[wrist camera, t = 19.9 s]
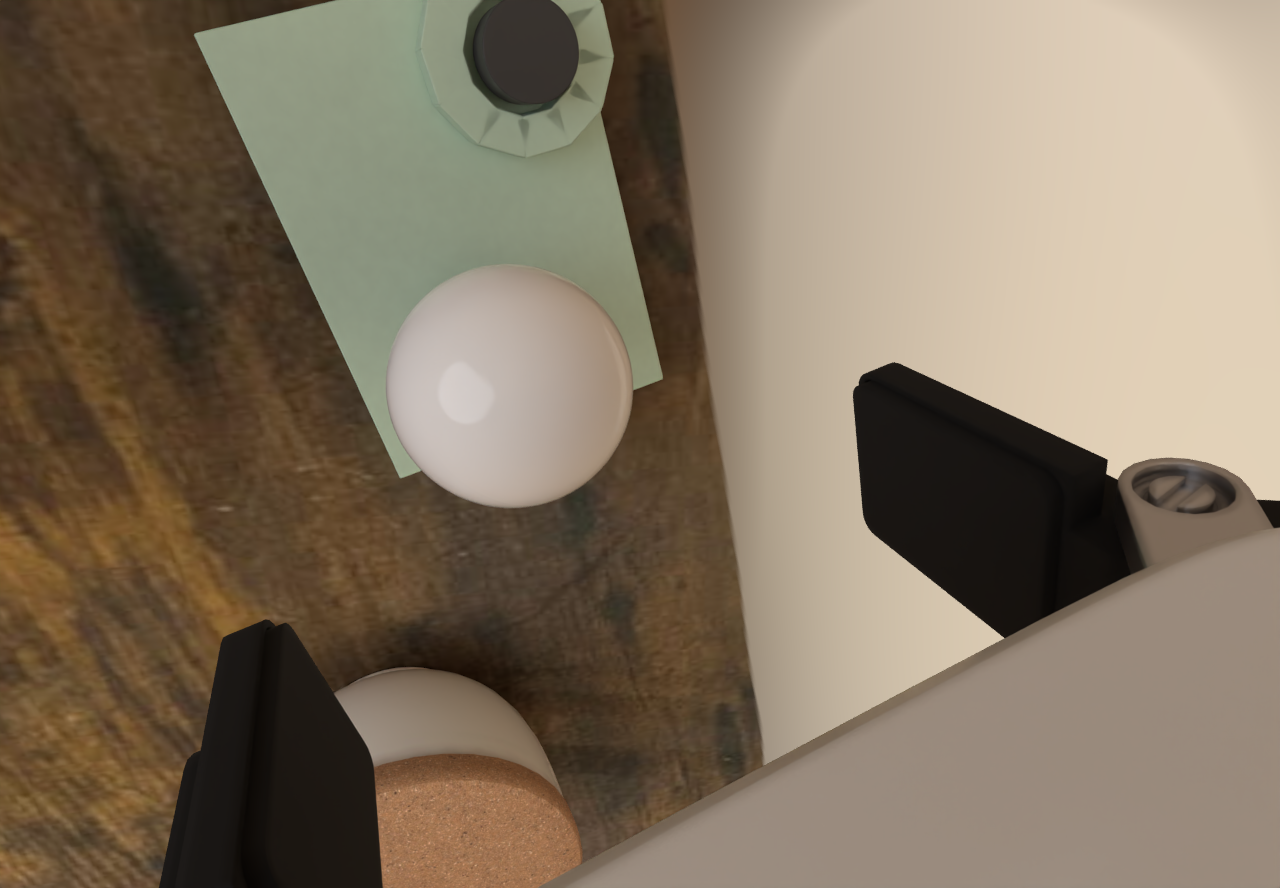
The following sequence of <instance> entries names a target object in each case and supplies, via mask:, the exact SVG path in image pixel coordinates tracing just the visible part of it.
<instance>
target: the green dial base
mask: <svg viewBox="0 0 1280 888" xmlns="http://www.w3.org/2000/svg"><path fill="white" fill-rule="evenodd" d="M501 1H502V0H335V1H331V2H327V3H322V4H318V5H314V6H310V7H305V8H301V9H297V10H292V11H288V12H284V13H280V14H275V15H271V16H267V17H262V18H258V19H254V20H249V21H245V22H241V23H237V24H232V25H228V26H224V27H219V28H215V29H211V30H207V31H202V32H198V33H195V34H194V36H195V38H196V40H197V42H198V45H199V47H200V49H201V51H202V53H203V55H204V57H205V60H206V62H207V64H208V66H209V68H210V70H211V72H212V75H213V77H214V79H215V81H216V83H217V85H218V88H219V90H220V92H221V94H222V96H223V98H224V100H225V103H226V105H227V107H228V109H229V111H230V113H231V116H232V118H233V120H234V122H235V124H236V126H237V128H238V131H239V133H240V135H241V137H242V139H243V141H244V143H245V146H246V148H247V150H248V152H249V154H250V156H251V159H252V161H253V163H254V165H255V167H256V169H257V171H258V174H259V176H260V178H261V180H262V182H263V184H264V186H265V189H266V191H267V193H268V195H269V197H270V199H271V202H272V204H273V206H274V208H275V210H276V212H277V214H278V217H279V219H280V221H281V223H282V225H283V227H284V229H285V232H286V234H287V236H288V238H289V240H290V242H291V245H292V247H293V249H294V251H295V253H296V255H297V257H298V260H299V262H300V264H301V266H302V268H303V270H304V272H305V275H306V277H307V279H308V281H309V283H310V285H311V288H312V290H313V292H314V294H315V296H316V298H317V300H318V303H319V305H320V307H321V309H322V311H323V313H324V315H325V318H326V320H327V322H328V324H329V326H330V328H331V331H332V333H333V335H334V337H335V339H336V341H337V343H338V346H339V348H340V350H341V352H342V354H343V356H344V359H345V361H346V363H347V365H348V367H349V369H350V371H351V374H352V376H353V378H354V380H355V382H356V384H357V386H358V389H359V391H360V393H361V395H362V397H363V399H364V402H365V404H366V406H367V408H368V410H369V412H370V414H371V417H372V419H373V421H374V423H375V425H376V427H377V429H378V432H379V434H380V436H381V438H382V440H383V442H384V445H385V447H386V449H387V451H388V453H389V455H390V457H391V460H392V462H393V464H394V466H395V468H396V470H397V472H398V475H399V477H400V478H403V477H406V476H408V475H411V474H414V473H416V472H419V471H422V470H421V469H420V468H419V467H418V466H417V465H416V464H415V463H414V462H413V460H412V459H411V458H410V456H409V455H408V454H407V452H406V451H405V449H404V448H403V446H402V444H401V442H400V441H399V439H398V437H397V434H396V432H395V430H394V427H393V425H392V422H391V418H390V415H389V410H388V406H387V399H386V370H387V363H388V358H389V354H390V350H391V347H392V344H393V341H394V339H395V337H396V334H397V332H398V330H399V328H400V326H401V325H402V323H403V321H404V320H405V318H406V317H407V315H408V314H409V312H410V311H411V310H412V308H413V307H414V306H415V305H416V304H417V303H418V302H419V301H420V300H421V299H422V298H423V297H424V296H425V295H426V294H427V293H428V292H429V291H431V290H432V289H433V288H435V287H436V286H437V285H439V284H440V283H442V282H443V281H445V280H447V279H449V278H451V277H453V276H455V275H457V274H459V273H461V272H464V271H467V270H470V269H473V268H477V267H481V266H486V265H493V264H523V265H529V266H534V267H538V268H542V269H546V270H549V271H551V272H554V273H556V274H559V275H561V276H563V277H565V278H567V279H569V280H571V281H572V282H574V283H575V284H577V285H579V286H580V287H581V288H583V289H584V290H585V291H587V292H588V293H589V294H590V295H591V296H593V297H594V298H595V299H596V300H597V301H598V302H599V303H600V304H601V306H602V307H603V308H604V309H605V310H606V312H607V313H608V314H609V316H610V317H611V318H612V320H613V321H614V323H615V325H616V326H617V328H618V330H619V332H620V334H621V336H622V338H623V340H624V343H625V345H626V348H627V351H628V354H629V358H630V362H631V367H632V374H633V390H635V389H638V388H641V387H643V386H646V385H648V384H651V383H654V382H656V381H659V380H662V379H663V375H662V371H661V367H660V363H659V358H658V354H657V350H656V346H655V341H654V337H653V333H652V329H651V324H650V320H649V316H648V312H647V307H646V303H645V299H644V295H643V290H642V286H641V282H640V278H639V273H638V269H637V265H636V261H635V256H634V252H633V248H632V244H631V239H630V235H629V231H628V227H627V222H626V218H625V214H624V210H623V205H622V201H621V197H620V193H619V188H618V184H617V180H616V176H615V171H614V167H613V163H612V159H611V154H610V150H609V146H608V142H607V137H606V133H605V129H604V125H603V120H602V116H601V110H602V109H601V108H602V107H603V104H604V100H605V95H606V91H607V87H608V82H609V78H610V74H611V69H612V65H613V58H614V54H613V49H612V45H611V40H610V36H609V31H608V27H607V22H606V18H605V13H604V8H603V4H602V3H601V0H551V1H553V2H555V3H556V4H557V5H558V6H559V7H560V8H561V9H562V10H563V11H564V12H565V13H566V15H567V16H568V18H569V19H570V21H571V23H572V25H573V27H574V30H575V32H576V36H577V39H578V45H579V61H578V67H577V71H576V74H575V76H574V79H573V81H572V82H571V84H570V86H569V87H568V88H567V90H566V91H565V92H564V93H563V94H562V95H560V96H559V97H558V98H556V99H554V100H552V101H550V102H547V103H543V104H533V105H518V104H513V103H509V102H507V101H504V100H502V99H501V98H499V97H497V96H496V95H495V94H493V93H492V92H491V91H490V90H489V89H488V88H487V86H486V85H485V84H484V82H483V81H482V79H481V78H480V76H479V74H478V71H477V69H476V66H475V62H474V57H473V38H474V34H475V30H476V28H477V25H478V23H479V21H480V19H481V18H482V17H483V15H484V14H485V13H486V12H487V11H488V10H489V9H491V8H492V7H493V6H495V5H496V4H498V3H499V2H501Z"/></svg>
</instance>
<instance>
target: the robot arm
mask: <svg viewBox="0 0 1280 888" xmlns="http://www.w3.org/2000/svg"><path fill="white" fill-rule="evenodd" d="M853 402H854V414H855V425H856V436H857V449H858V461H859V472H860V483H861V496H862V508H863V516H864V520H865V522H866V524H867V526H868V528H869V529H870V531H871V532H872V533H873V534H874V535H875V536H877V537H878V538H879V539H880V540H882V541H883V542H884V543H885V544H887V545H888V546H889V547H890V548H892V549H893V550H894V551H895V552H897V553H898V554H899V555H900V556H902V557H903V558H904V559H906V560H907V561H908V562H909V563H911V564H912V565H913V566H914V567H916V568H917V569H918V570H919V571H921V572H922V573H923V574H924V575H926V576H927V577H928V578H930V579H931V580H932V581H933V582H934V583H936V584H937V585H938V586H940V587H941V588H942V589H943V590H945V591H946V592H947V593H948V594H950V595H951V596H952V597H953V598H955V599H956V600H957V601H958V602H960V603H961V604H962V605H963V606H965V607H966V608H967V609H969V610H970V611H971V612H972V613H974V614H975V615H976V616H977V617H979V618H980V619H981V620H983V621H984V622H985V623H986V624H988V625H989V626H990V627H991V628H993V629H994V630H995V631H996V632H998V633H999V634H1000V635H1001V636H1003V637H1004V638H1005V639H1003V640H1001V641H999V642H997V643H995V644H993V645H991V646H989V647H987V648H986V649H984V650H982V651H980V652H978V653H976V654H974V655H972V656H971V657H968V658H967V659H965V660H963V661H961V662H959V663H957V664H955V665H953V666H951V667H949V668H947V669H946V670H944V671H942V672H940V673H938V674H936V675H934V676H932V677H930V678H928V679H927V680H925V681H923V682H921V683H919V684H917V685H915V686H913V687H911V688H909V689H907V690H906V691H904V692H902V693H900V694H898V695H896V696H894V697H892V698H890V699H889V700H887V701H885V702H883V703H881V704H879V705H877V706H875V707H873V708H872V709H870V710H868V711H866V712H864V713H862V714H860V715H858V716H857V717H855V718H853V719H851V720H849V721H847V722H845V723H843V724H841V725H840V726H838V727H836V728H834V729H832V730H830V731H828V732H826V733H824V734H823V735H821V736H819V737H817V738H815V739H813V740H811V741H810V742H808V743H806V744H804V745H802V746H800V747H798V748H796V749H794V750H793V751H791V752H789V753H787V754H785V755H783V756H781V757H779V758H778V759H776V760H774V761H772V762H770V763H768V764H766V765H764V766H763V767H761V768H759V769H757V770H755V771H753V772H751V773H749V774H748V775H746V776H744V777H742V778H740V779H738V780H736V781H734V782H733V783H731V784H729V785H727V786H725V787H723V788H721V789H719V790H718V791H716V792H714V793H712V794H710V795H708V796H706V797H705V798H703V799H701V800H699V801H697V802H695V803H693V804H692V805H690V806H688V807H686V808H684V809H682V810H680V811H679V812H677V813H675V814H673V815H671V816H669V817H667V818H666V819H664V820H662V821H660V822H658V823H656V824H654V825H653V826H651V827H649V828H647V829H645V830H643V831H641V832H640V833H638V834H636V835H634V836H632V837H630V838H629V839H627V840H625V841H623V842H621V843H619V844H617V845H616V846H614V847H612V848H610V849H608V850H606V851H604V852H603V853H601V854H599V855H597V856H595V857H593V858H591V859H590V860H588V861H586V862H584V863H582V864H580V865H578V866H577V867H575V868H573V869H571V870H569V871H567V872H565V873H564V874H562V875H560V876H558V877H556V878H554V879H552V880H551V881H549V882H547V883H545V884H543V885H541V886H540V887H538V888H1280V501H1273V500H1272V501H1271V500H1256V498H1255V496H1254V495H1253V493H1252V491H1251V490H1250V488H1249V487H1248V486H1247V485H1246V484H1245V483H1244V482H1243V480H1242V479H1241V478H1239V477H1238V476H1236V475H1234V474H1233V473H1231V472H1229V471H1228V470H1226V469H1223V468H1221V467H1217V466H1215V465H1212V464H1209V463H1206V462H1200V461H1196V460H1190V459H1181V458H1159V459H1150V460H1145V461H1142V462H1139V463H1135V464H1133V465H1131V466H1130V467H1128V468H1127V469H1125V470H1123V472H1122V473H1121V475H1120V477H1119V478H1118V480H1117V479H1115V478H1113V477H1111V476H1109V475H1107V474H1106V471H1107V461H1108V460H1107V459H1105V458H1103V457H1101V456H1099V455H1096V454H1094V453H1092V452H1090V451H1088V450H1085V449H1083V448H1081V447H1079V446H1077V445H1075V444H1072V443H1070V442H1068V441H1066V440H1064V439H1061V438H1059V437H1057V436H1055V435H1053V434H1051V433H1049V432H1046V431H1044V430H1042V429H1040V428H1038V427H1036V426H1033V425H1031V424H1029V423H1027V422H1025V421H1022V420H1020V419H1018V418H1016V417H1014V416H1012V415H1009V414H1007V413H1005V412H1003V411H1001V410H999V409H997V408H994V407H992V406H990V405H988V404H986V403H984V402H981V401H979V400H977V399H975V398H973V397H971V396H968V395H966V394H964V393H962V392H960V391H957V390H955V389H953V388H951V387H949V386H946V385H944V384H942V383H940V382H938V381H936V380H934V379H931V378H929V377H927V376H925V375H923V374H921V373H919V372H916V371H914V370H912V369H910V368H908V367H905V366H903V365H901V364H899V363H895V362H894V363H890V364H887V365H885V366H883V367H880V368H878V369H875V370H873V371H870V372H868V373H866V374H863V375H862V376H861V378H860V380H859V386H856V387H855V389H854V391H853ZM159 888H383V883H382V869H381V856H380V842H379V829H378V815H377V801H376V788H375V774H374V765H373V761H372V757H371V754H370V752H369V749H368V747H367V745H366V743H365V742H364V740H363V739H362V737H361V735H360V734H359V732H358V731H357V729H356V728H355V726H354V724H353V723H352V721H351V720H350V718H349V717H348V715H347V713H346V712H345V710H344V709H343V707H342V706H341V704H340V702H339V701H338V699H337V698H336V696H335V695H334V693H333V691H332V690H331V688H330V687H329V685H328V684H327V682H326V680H325V679H324V677H323V676H322V674H321V673H320V671H319V669H318V668H317V666H316V665H315V663H314V662H313V660H312V658H311V657H310V655H309V654H308V652H307V651H306V649H305V647H304V646H303V644H302V643H301V641H300V640H299V638H298V636H297V635H296V633H295V632H294V630H293V629H292V627H291V626H290V625H289V624H287V623H283V624H281V625H278V626H275V625H274V624H273V623H272V622H271V621H270V620H263V621H261V622H259V623H256V624H254V625H251V626H249V627H246V628H244V629H242V630H239V631H237V632H234V633H232V634H229V635H227V636H225V637H224V638H223V639H222V642H221V646H220V652H219V657H218V662H217V667H216V673H215V678H214V683H213V688H212V694H211V699H210V704H209V709H208V715H207V720H206V725H205V730H204V736H203V741H202V746H201V751H198V752H196V753H194V754H193V755H192V756H191V757H190V758H189V759H188V760H187V763H186V765H185V768H184V771H183V776H182V781H181V786H180V790H179V795H178V800H177V805H176V809H175V814H174V819H173V824H172V829H171V833H170V838H169V843H168V848H167V852H166V857H165V862H164V867H163V871H162V876H161V881H160V886H159Z"/></svg>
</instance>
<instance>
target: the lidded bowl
mask: <svg viewBox="0 0 1280 888" xmlns="http://www.w3.org/2000/svg"><path fill="white" fill-rule="evenodd" d="M334 695H335V696H336V698H337V699H338V701H339V702H340V704H341V706H342V707H343V709H344V710H345V712H346V713H347V715H348V717H349V718H350V720H351V721H352V723H353V724H354V726H355V728H356V729H357V731H358V732H359V734H360V735H361V737H362V739H363V740H364V742H365V743H366V745H367V747H368V749H369V752H370V754H371V757H372V761H373V765H374V774H375V788H376V801H377V815H378V829H379V842H380V856H381V869H382V883H383V888H538V887H540V886H541V885H543V884H545V883H547V882H549V881H551V880H552V879H554V878H556V877H558V876H560V875H562V874H564V873H565V872H567V871H569V870H571V869H573V868H575V867H577V866H578V865H580V864H582V847H581V842H580V836H579V833H578V829H577V826H576V823H575V821H574V818H573V816H572V814H571V812H570V809H569V807H568V805H567V803H566V801H565V799H564V798H563V796H562V793H561V790H560V787H559V785H558V782H557V779H556V777H555V774H554V772H553V769H552V767H551V765H550V763H549V760H548V758H547V756H546V754H545V752H544V750H543V748H542V746H541V744H540V743H539V741H538V739H537V737H536V736H535V734H534V733H533V732H532V730H531V729H530V727H529V726H528V724H527V723H526V722H525V720H524V719H523V718H522V717H521V715H520V714H519V713H518V711H517V710H516V709H515V708H513V707H512V706H511V705H510V704H509V703H508V702H507V701H506V700H504V699H503V698H502V697H501V696H500V695H499V694H497V693H496V692H495V691H493V690H492V689H490V688H488V687H486V686H485V685H483V684H481V683H479V682H477V681H475V680H473V679H470V678H467V677H465V676H462V675H459V674H457V673H452V672H447V671H442V670H432V669H427V668H420V667H401V668H393V669H388V670H383V671H380V672H376V673H373V674H370V675H368V676H365V677H363V678H361V679H358V680H357V681H355V682H353V683H352V684H350V685H348V686H346V687H343V688H341V689H340V690H338V691H336V692H335V693H334Z"/></svg>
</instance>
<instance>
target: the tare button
mask: <svg viewBox="0 0 1280 888" xmlns="http://www.w3.org/2000/svg"><path fill="white" fill-rule="evenodd" d="M473 57H474V62H475V66H476V69H477V71H478V74H479V76H480V78H481V79H482V81H483V82H484V84H485V85H486V86H487V88H488V89H489V90H490V91H491V92H492V93H493V94H495V95H496V96H497V97H499V98H501V99H502V100H504V101H507V102H509V103H513V104H518V105H533V104H543V103H547V102H550V101H552V100H554V99H556V98H558V97H559V96H560V95H562V94H563V93H564V92H565V91H566V90H567V88H568V87H569V86H570V84H571V82H572V81H573V79H574V76H575V74H576V71H577V67H578V61H579V45H578V39H577V36H576V32H575V30H574V27H573V25H572V23H571V21H570V19H569V18H568V16H567V15H566V13H565V12H564V11H563V10H562V9H561V8H560V7H559V6H558V5H557V4H556V3H555V2H553V1H551V0H502V1H501V2H499V3H498V4H496V5H495V6H493V7H492V8H491V9H489V10H488V11H487V12H486V13H485V14H484V15H483V17H482V18H481V19H480V21H479V23H478V25H477V28H476V30H475V34H474V38H473Z"/></svg>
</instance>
